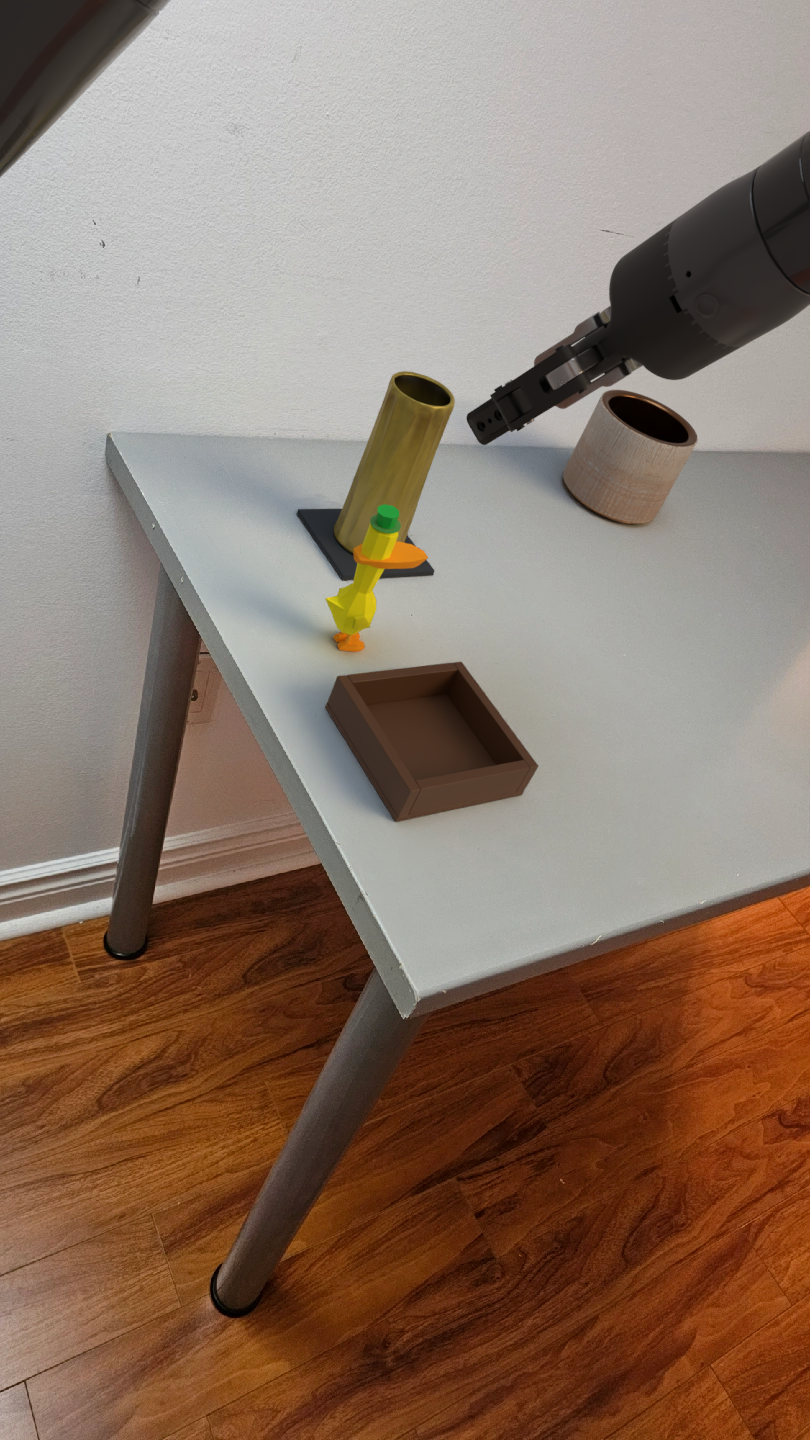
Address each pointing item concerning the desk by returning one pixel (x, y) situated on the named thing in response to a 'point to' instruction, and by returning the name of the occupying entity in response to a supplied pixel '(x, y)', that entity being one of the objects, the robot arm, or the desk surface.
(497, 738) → the tray
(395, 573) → the mat
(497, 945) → the desk surface
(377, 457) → the vase
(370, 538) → the toy figure
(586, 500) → the planter
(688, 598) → the desk surface
